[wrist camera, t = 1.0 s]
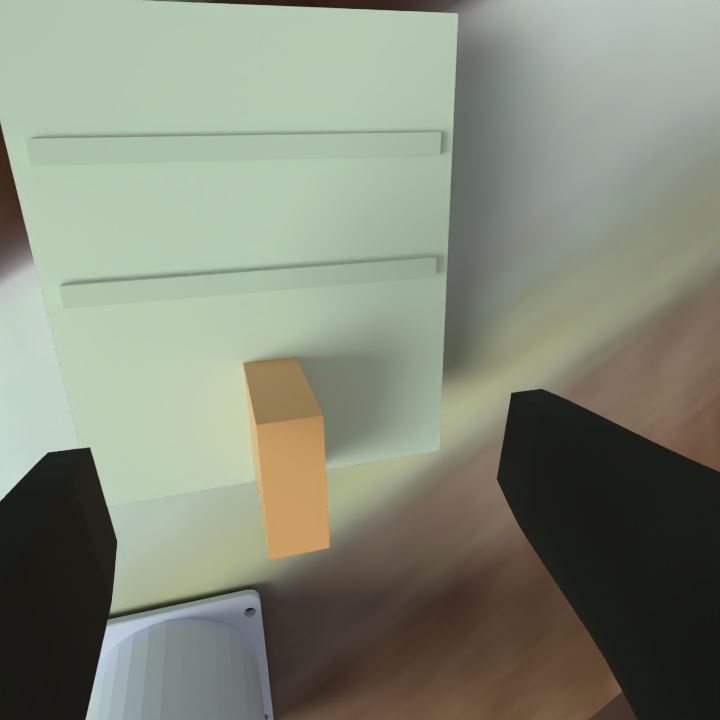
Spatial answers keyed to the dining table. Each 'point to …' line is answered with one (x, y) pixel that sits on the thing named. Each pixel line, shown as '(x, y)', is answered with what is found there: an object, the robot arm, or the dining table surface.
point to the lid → (237, 237)
